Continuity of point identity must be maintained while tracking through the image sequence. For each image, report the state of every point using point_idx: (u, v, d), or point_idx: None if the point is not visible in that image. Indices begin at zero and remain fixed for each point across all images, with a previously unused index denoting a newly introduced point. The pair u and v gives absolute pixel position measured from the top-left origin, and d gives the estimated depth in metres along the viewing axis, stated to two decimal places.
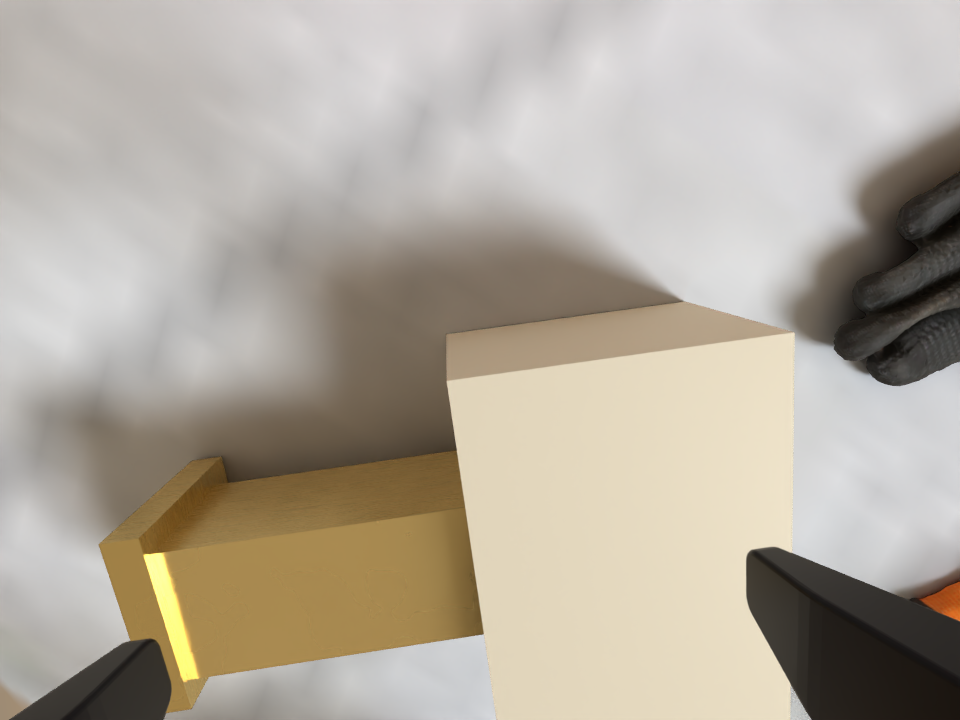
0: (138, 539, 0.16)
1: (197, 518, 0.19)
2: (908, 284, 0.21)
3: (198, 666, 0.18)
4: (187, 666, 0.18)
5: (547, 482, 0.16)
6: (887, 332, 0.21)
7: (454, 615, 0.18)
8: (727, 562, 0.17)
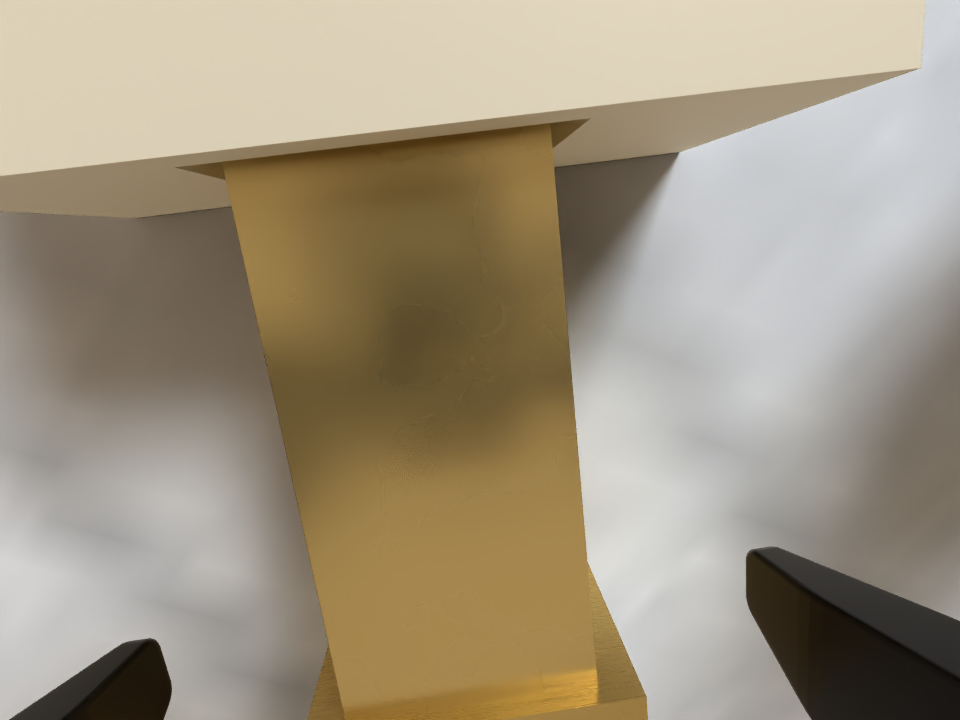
0: None
1: None
2: None
3: (572, 673, 0.10)
4: (572, 687, 0.10)
5: None
6: None
7: (497, 200, 0.08)
8: None
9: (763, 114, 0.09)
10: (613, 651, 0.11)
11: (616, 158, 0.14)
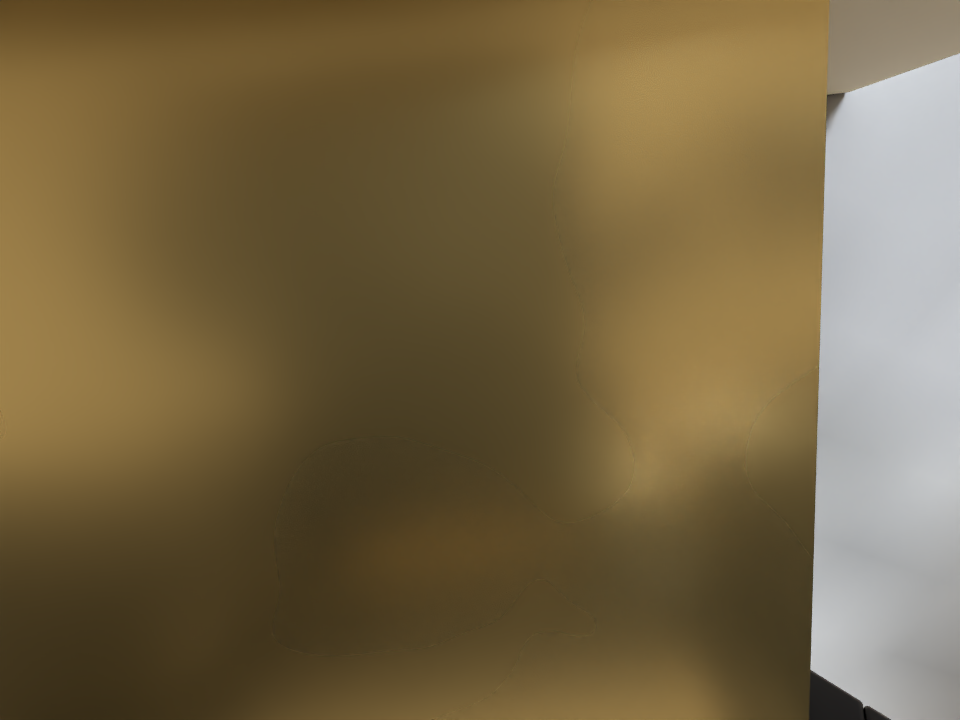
0: None
1: None
2: None
3: None
4: None
5: None
6: None
7: (637, 114, 0.02)
8: None
9: None
10: None
11: None
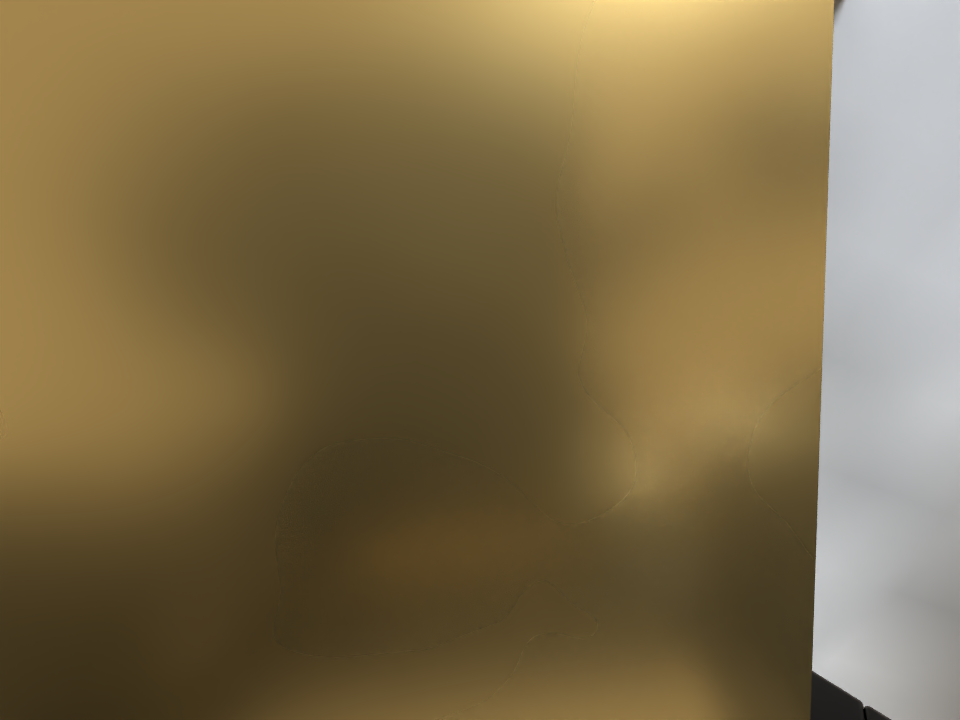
0: None
1: None
2: None
3: None
4: None
5: None
6: None
7: (640, 115, 0.02)
8: None
9: None
10: None
11: None
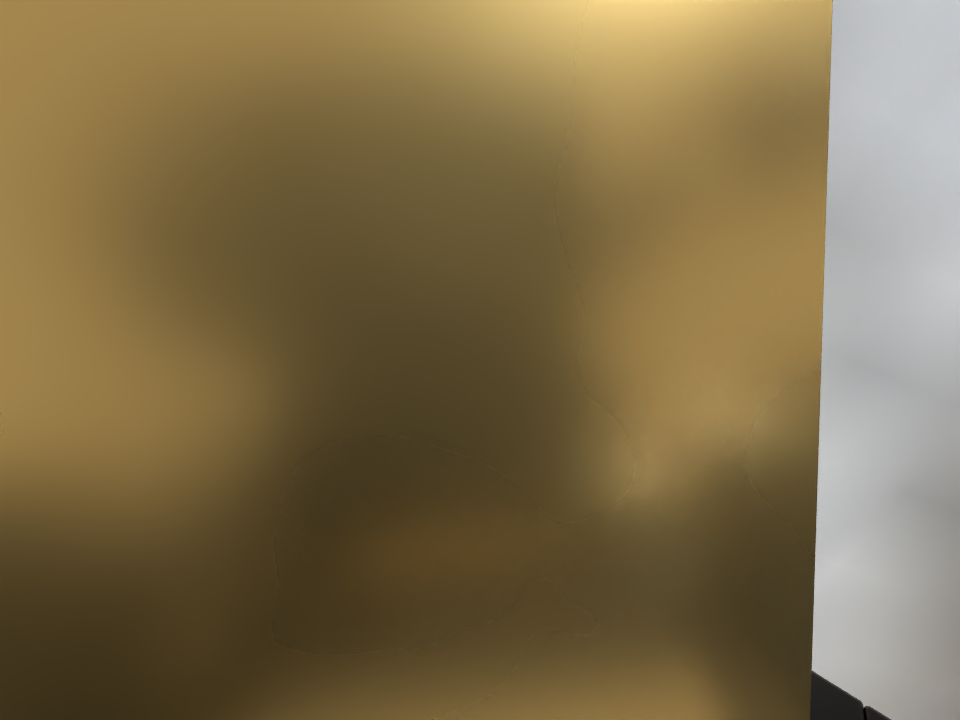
0: None
1: None
2: None
3: None
4: None
5: None
6: None
7: (638, 112, 0.02)
8: None
9: None
10: None
11: None
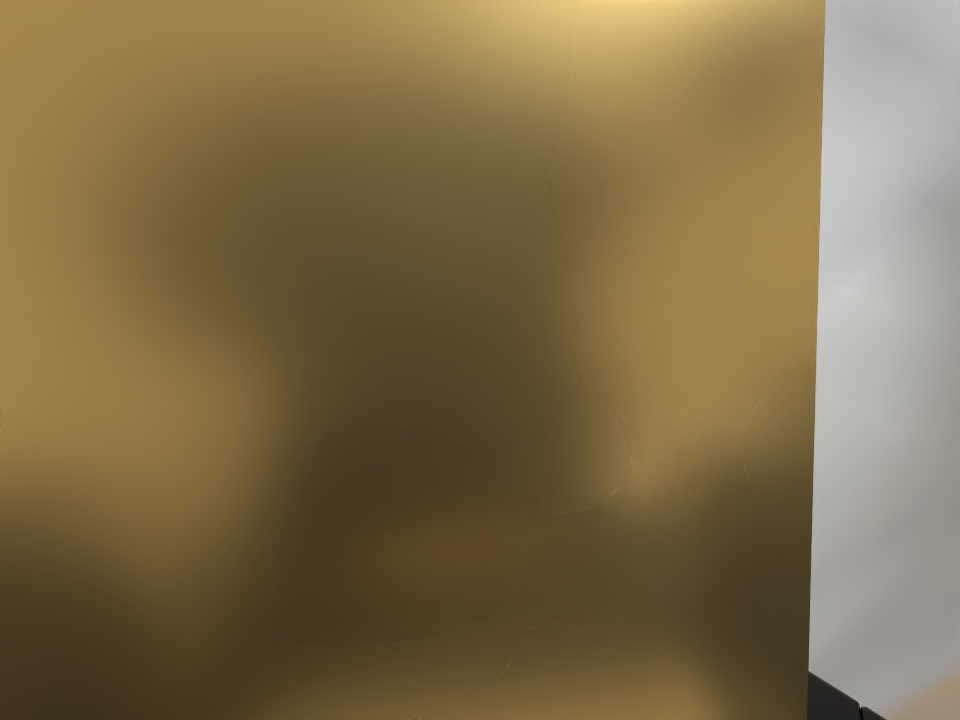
0: None
1: None
2: None
3: None
4: None
5: None
6: None
7: (632, 103, 0.02)
8: None
9: None
10: None
11: None
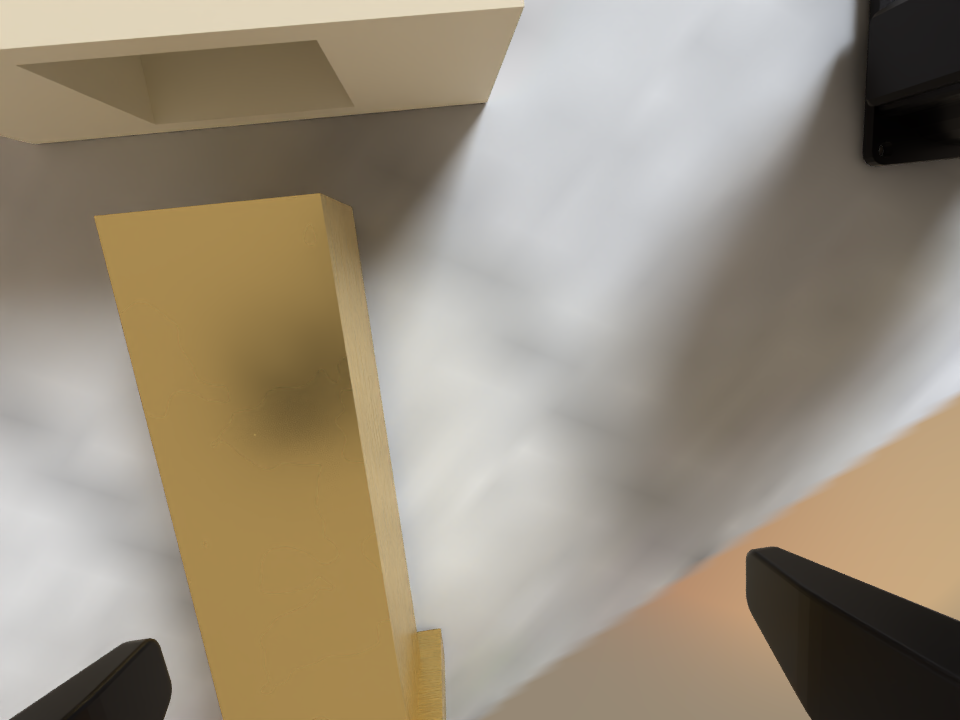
0: None
1: None
2: None
3: None
4: None
5: None
6: None
7: (330, 488, 0.13)
8: None
9: (479, 52, 0.13)
10: None
11: (431, 104, 0.17)
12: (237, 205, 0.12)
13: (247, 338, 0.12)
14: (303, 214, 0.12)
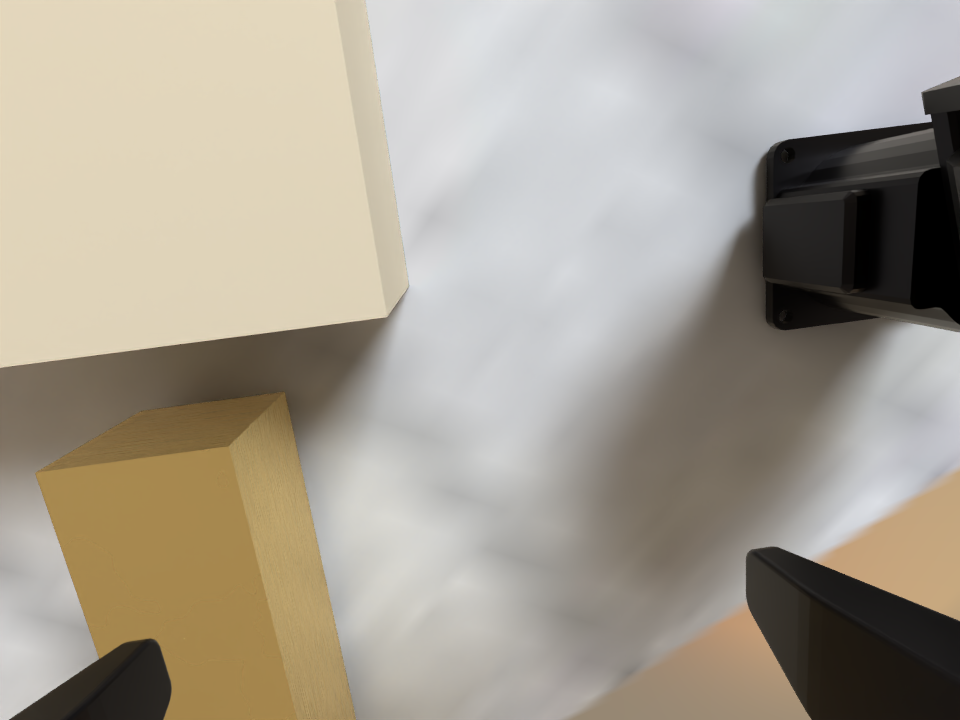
0: None
1: None
2: None
3: None
4: None
5: None
6: None
7: (253, 678, 0.15)
8: None
9: None
10: None
11: None
12: (157, 458, 0.13)
13: (173, 562, 0.14)
14: (215, 464, 0.14)
